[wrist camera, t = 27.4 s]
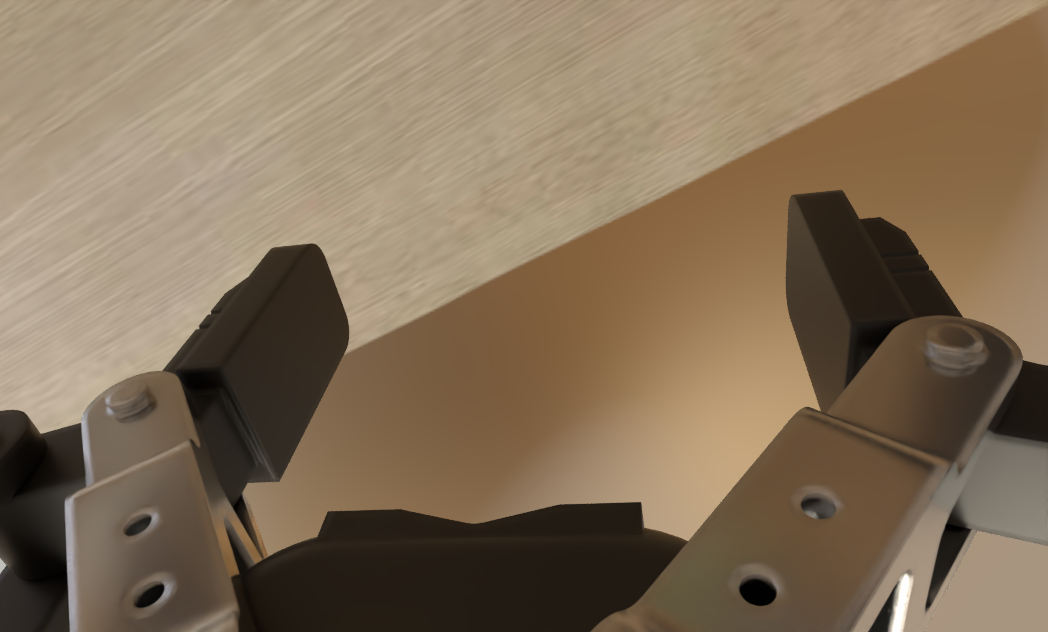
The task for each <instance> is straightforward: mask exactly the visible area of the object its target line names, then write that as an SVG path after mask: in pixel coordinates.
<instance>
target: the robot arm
mask: <svg viewBox="0 0 1048 632" xmlns="http://www.w3.org/2000/svg"><path fill="white" fill-rule="evenodd" d="M786 297H787V305H788V311H789V315H790V319H791V322H792V325H793V328H794V331H795V334H796V337H797V340H798V343H799V346H800V349H801V352H802V355H803V358H804V361H805V364H806V367H807V370H808V373H809V376H810V379H811V382H812V385H813V388H814V391H815V394H816V397H817V400H818V403H819V407H820V409H821V411H818V410H815V409H813V408H810V407H804V408H802V409H800V410H799V411H798V412H797V413H796V414H795V415H794V416H793V417H792V418H791V419H790V420H789V421H788V423H787V424H786V425H785V426H784V427H783V429H782V430H781V431H780V432H779V433H778V435H777V436H776V437H775V438H774V439H773V441H772V442H771V443H770V444H769V445H768V447H767V448H766V449H765V450H764V452H763V453H762V454H761V455H760V456H759V457H758V459H757V460H756V461H755V462H754V463H753V465H752V466H751V467H750V468H749V469H748V471H747V472H746V473H745V474H744V475H743V477H742V478H741V479H740V480H739V482H738V483H737V484H736V485H735V486H734V487H733V488H732V490H731V491H730V492H729V493H728V495H727V496H726V497H725V498H724V499H723V500H722V502H721V503H720V504H719V505H718V506H717V508H716V509H715V510H714V511H713V512H712V514H711V515H710V516H709V517H708V518H707V520H706V521H705V522H704V523H703V525H702V526H701V527H700V528H699V529H698V530H697V532H696V533H695V534H694V535H693V536H692V538H691V539H690V540H689V541H686V540H684V539H682V538H679V537H676V536H673V535H670V534H667V533H664V532H661V531H656V530H651V529H647V528H644V524H643V523H644V522H643V514H642V506H641V502H631V503H599V504H564V505H556V506H552V507H547V508H543V509H539V510H535V511H530V512H526V513H522V514H518V515H514V516H509V517H505V518H501V519H497V520H493V521H489V522H484V523H478V524H470V523H463V522H459V521H454V520H449V519H444V518H439V517H434V516H430V515H425V514H420V513H415V512H410V511H406V510H401V509H398V510H397V509H396V510H362V511H331V512H328V513H327V515H326V517H325V520H324V522H323V525H322V527H321V530H320V532H319V534H318V537H315V538H311V539H308V540H305V541H303V542H300V543H297V544H294V545H291V546H289V547H287V548H285V549H282V550H280V551H278V552H276V553H274V554H273V555H271V556H269V557H268V554H267V552H266V549H265V546H264V543H263V541H262V538H261V535H260V532H259V530H258V527H257V524H256V521H255V518H254V516H253V513H252V510H251V507H250V505H249V504H248V502H247V500H246V498H245V496H244V494H243V493H242V492H243V490H244V488H245V486H246V485H247V483H255V482H279V481H280V479H281V477H282V475H283V473H284V471H285V470H286V468H287V466H288V463H289V462H290V460H291V458H292V456H293V453H294V452H295V450H296V448H297V446H298V444H299V442H300V440H301V438H302V436H303V434H304V432H305V430H306V428H307V426H308V424H309V422H310V420H311V418H312V416H313V414H314V412H315V410H316V408H317V406H318V404H319V402H320V400H321V398H322V396H323V394H324V392H325V390H326V388H327V387H328V384H329V383H330V381H331V379H332V377H333V375H334V373H335V371H336V369H337V367H338V365H339V363H340V361H341V359H342V357H343V355H344V353H345V351H346V349H347V346H348V341H349V325H348V319H347V316H346V313H345V310H344V307H343V304H342V302H341V299H340V296H339V294H338V291H337V288H336V285H335V283H334V280H333V277H332V275H331V272H330V269H329V267H328V264H327V261H326V258H325V256H324V254H323V252H322V250H321V249H320V248H319V247H318V246H317V245H316V244H303V245H293V246H283V247H275V248H272V249H271V250H270V251H269V252H268V253H267V254H266V255H265V257H264V258H263V259H262V261H261V262H260V263H259V264H258V266H257V267H256V268H255V269H254V271H253V272H252V273H251V274H250V276H249V277H248V278H246V279H245V280H243V281H242V282H241V283H239V284H238V285H236V286H235V287H234V288H232V289H231V290H229V291H228V292H227V293H225V295H224V296H223V297H222V298H221V299H220V301H219V302H218V303H217V304H216V306H215V307H214V308H213V309H212V310H211V315H207V317H206V318H205V319H204V320H203V322H202V323H201V324H200V325H199V329H197V330H195V331H194V333H193V334H192V335H191V336H190V338H189V339H188V340H187V341H186V342H185V344H184V345H183V346H182V347H181V349H180V350H179V351H178V352H177V354H176V355H175V356H174V357H173V358H172V360H171V361H170V362H169V363H168V365H167V366H166V367H165V368H164V369H163V371H154V372H147V373H143V374H139V375H136V376H133V377H131V378H128V379H126V380H123V381H121V382H119V383H117V384H116V385H114V386H112V387H110V388H109V389H107V390H106V391H104V392H103V393H102V394H100V395H99V396H98V397H97V398H96V399H95V400H93V401H92V402H91V404H90V405H89V406H88V407H87V408H86V410H85V412H84V413H83V416H82V418H81V423H79V424H75V425H72V426H68V427H65V428H61V429H57V430H54V431H50V432H47V433H43V434H41V433H40V432H39V431H38V429H37V428H36V427H35V425H34V424H33V423H32V421H31V420H30V418H29V417H28V416H27V415H26V414H25V413H24V412H22V411H19V410H5V411H0V558H1V559H2V560H3V562H4V563H5V564H6V565H7V566H6V567H5V569H4V570H3V571H2V572H1V574H0V632H925V630H926V628H927V626H928V625H929V623H930V621H931V619H932V617H933V615H934V613H935V611H936V609H937V607H938V605H939V603H940V602H941V600H942V598H943V596H944V594H945V592H946V590H947V588H948V586H949V584H950V582H951V580H952V578H953V577H954V575H955V573H956V571H957V569H958V567H959V565H960V563H961V561H962V559H963V557H964V555H965V553H966V552H967V550H968V548H969V546H970V544H971V542H972V540H973V538H974V536H975V534H976V533H977V531H982V532H987V533H991V534H996V535H1000V536H1005V537H1010V538H1014V539H1018V540H1023V541H1028V542H1033V543H1037V544H1041V545H1046V546H1048V366H1046V365H1041V364H1036V363H1032V362H1028V361H1024V360H1023V356H1022V353H1021V350H1020V349H1019V347H1018V346H1017V344H1016V343H1015V342H1014V341H1013V340H1012V339H1011V338H1010V337H1009V336H1007V335H1006V334H1005V333H1003V332H1002V331H999V330H998V329H996V328H994V327H992V326H990V325H987V324H985V323H982V322H979V321H975V320H972V319H967V318H963V317H962V315H961V314H960V312H959V311H958V309H957V308H956V306H955V305H954V303H953V302H952V300H951V299H950V297H949V296H948V294H947V293H946V292H945V290H944V288H943V287H942V285H941V284H940V282H939V281H938V279H937V278H936V276H935V275H934V273H933V272H932V271H929V266H928V264H927V263H926V261H925V260H924V258H923V257H922V256H921V255H919V254H918V250H917V248H916V247H915V245H914V244H913V242H912V241H911V239H910V238H909V236H908V235H907V234H906V232H905V231H903V230H901V229H899V228H898V227H896V226H894V225H893V224H891V223H889V222H887V221H886V220H884V219H882V218H880V217H878V218H867V219H859V218H858V216H857V214H856V212H855V211H854V209H853V207H852V205H851V204H850V202H849V200H848V198H847V197H846V195H845V193H844V192H843V191H842V190H835V191H825V192H816V193H807V194H797V195H792V196H791V197H790V201H789V209H788V232H787V260H786Z"/></svg>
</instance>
